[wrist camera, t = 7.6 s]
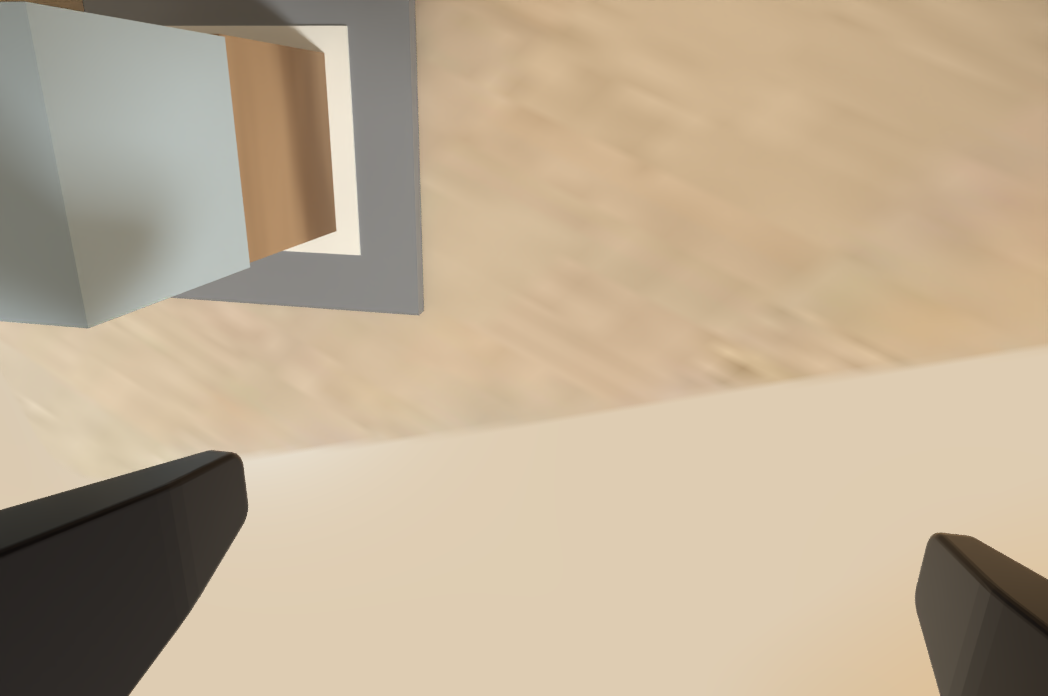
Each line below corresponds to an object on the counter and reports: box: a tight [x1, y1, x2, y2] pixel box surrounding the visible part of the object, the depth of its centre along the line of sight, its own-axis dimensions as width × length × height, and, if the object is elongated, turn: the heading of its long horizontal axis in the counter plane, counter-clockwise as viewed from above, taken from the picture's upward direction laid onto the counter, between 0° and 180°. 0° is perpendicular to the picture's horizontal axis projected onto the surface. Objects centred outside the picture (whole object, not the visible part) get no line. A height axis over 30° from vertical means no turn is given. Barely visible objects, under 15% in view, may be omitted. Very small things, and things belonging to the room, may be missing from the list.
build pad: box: [83, 0, 424, 315], centre depth 21 cm, size 10×10×1 cm
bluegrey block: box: [0, 2, 250, 328], centre depth 14 cm, size 5×5×5 cm
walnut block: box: [212, 34, 337, 263], centre depth 18 cm, size 5×5×5 cm
